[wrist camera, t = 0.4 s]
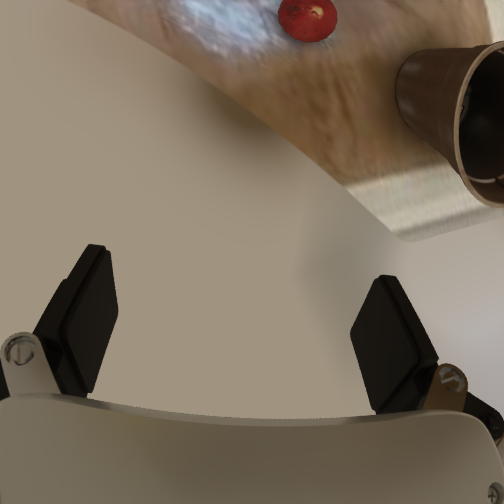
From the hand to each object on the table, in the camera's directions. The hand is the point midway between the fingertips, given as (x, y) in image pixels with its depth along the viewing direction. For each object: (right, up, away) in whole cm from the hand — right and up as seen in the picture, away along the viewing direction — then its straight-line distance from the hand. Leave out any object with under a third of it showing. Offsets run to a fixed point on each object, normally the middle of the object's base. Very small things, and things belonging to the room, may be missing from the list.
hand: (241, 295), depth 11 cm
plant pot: (+23, +21, +22) cm, 38 cm away
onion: (+6, +27, +17) cm, 32 cm away
